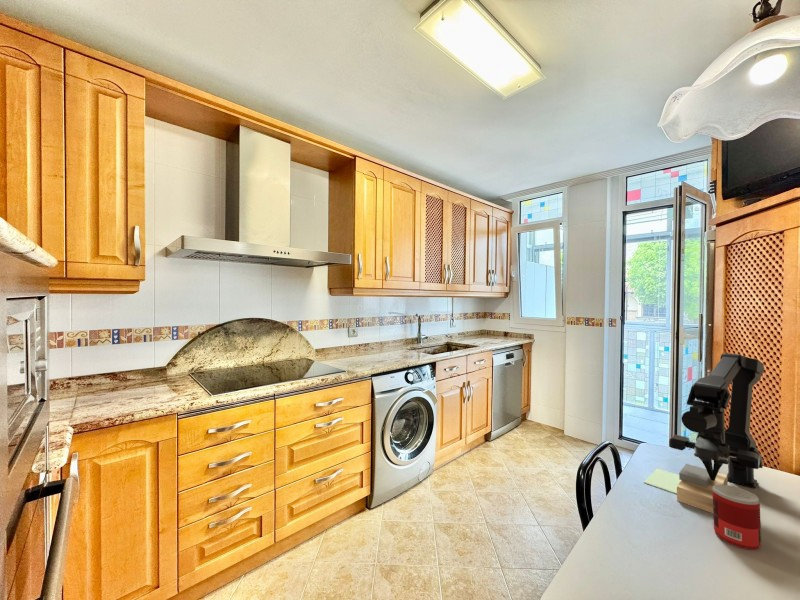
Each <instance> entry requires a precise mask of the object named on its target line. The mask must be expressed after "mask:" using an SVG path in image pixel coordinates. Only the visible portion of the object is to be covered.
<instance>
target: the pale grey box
mask: <svg viewBox="0 0 800 600" xmlns="http://www.w3.org/2000/svg"><path fill="white" fill-rule="evenodd" d="M678 475H679V479H680V480H683V481H686V482H689V483H692V484H696V485H699V486H702V487H705V488H707V486H708V484H709V483H710V481H711V479H710V477H709V474H708V472H707V470H706V468H705V467H704V468H703V467H700V466H696V465H692V464H689V463H685V465H684V466H683V467H682V469H680V471H679V473H678Z"/></svg>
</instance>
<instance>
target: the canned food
mask: <svg viewBox="0 0 800 600" xmlns="http://www.w3.org/2000/svg"><path fill="white" fill-rule="evenodd" d="M712 515H713V517H712V518H713V529H714V532H715V534H716V536H717V537H719V539H721V540H722V541H724V542H726V543H728V544H729V545H732V546H735V547H738V548H741V549H744V550H752V551H754V550H758V549H760V547H761V545H762V528H761V502H760V498H759V496H757V495H756V494H755V493H753V492H751V491H748V490H746V489H744V488H740V487H737V486H733V485H722V484H718V485H714V486H713V513H712Z"/></svg>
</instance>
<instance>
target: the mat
mask: <svg viewBox="0 0 800 600" xmlns="http://www.w3.org/2000/svg"><path fill="white" fill-rule="evenodd" d="M680 481H681V480H680V479H679V474H677V473H674V472H670V471H667V470H664V469H661V468H656V469H655V470H654V471H652V473H651V474H650V475H649V476H648V477H647V478H646V479H645V480H644V482H643V484H646V485H650V486H652V487H655V488H658V489H660V490H664V491H667V492H669V493H672V494H674V495H677V485H678V484H679V483H680Z"/></svg>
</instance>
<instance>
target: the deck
mask: <svg viewBox="0 0 800 600" xmlns="http://www.w3.org/2000/svg"><path fill="white" fill-rule="evenodd" d="M718 484H722V485H728V481H727V474H725V473H722V472H718V474H717V476H716V479H715V481H713V480H711V481H710V483H709V484H708V486H707V488H705V487H702V486H699V485H696V484H692V483H689V482H686V481H683V480H681V481H680V483H679V484H678V485H677V494H676V501H677V502H680V503H682V504H686V505H687V506H688V505H689V506H692V507H695V508H697V509H699V510H700V509H701V510H703V511H706V512H708V513H712V514H713V486H714V485H718Z"/></svg>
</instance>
